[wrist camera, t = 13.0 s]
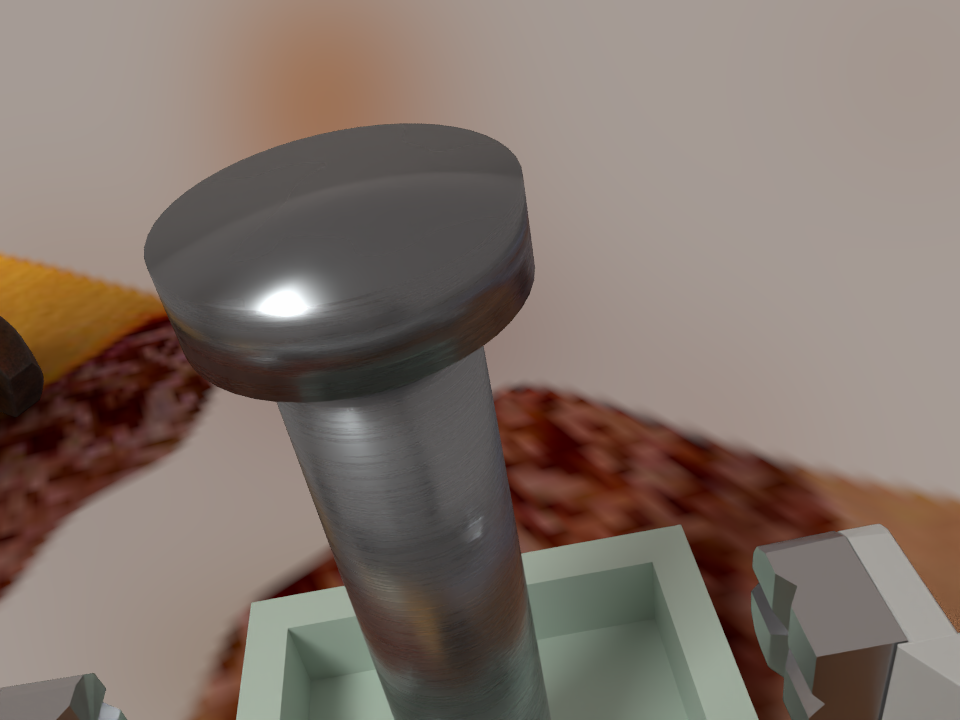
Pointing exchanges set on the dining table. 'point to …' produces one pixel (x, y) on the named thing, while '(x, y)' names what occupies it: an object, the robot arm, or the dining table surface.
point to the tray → (560, 637)
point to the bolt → (17, 373)
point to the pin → (380, 381)
